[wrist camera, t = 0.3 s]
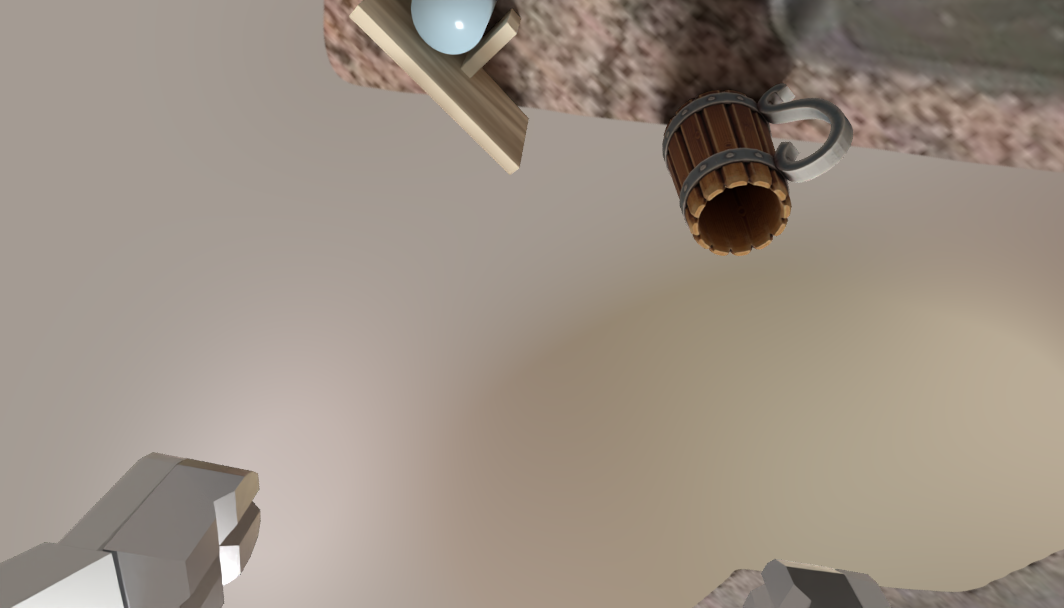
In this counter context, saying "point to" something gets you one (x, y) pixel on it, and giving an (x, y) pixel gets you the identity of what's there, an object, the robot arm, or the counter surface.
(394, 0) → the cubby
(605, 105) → the counter surface
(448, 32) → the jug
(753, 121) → the mug
